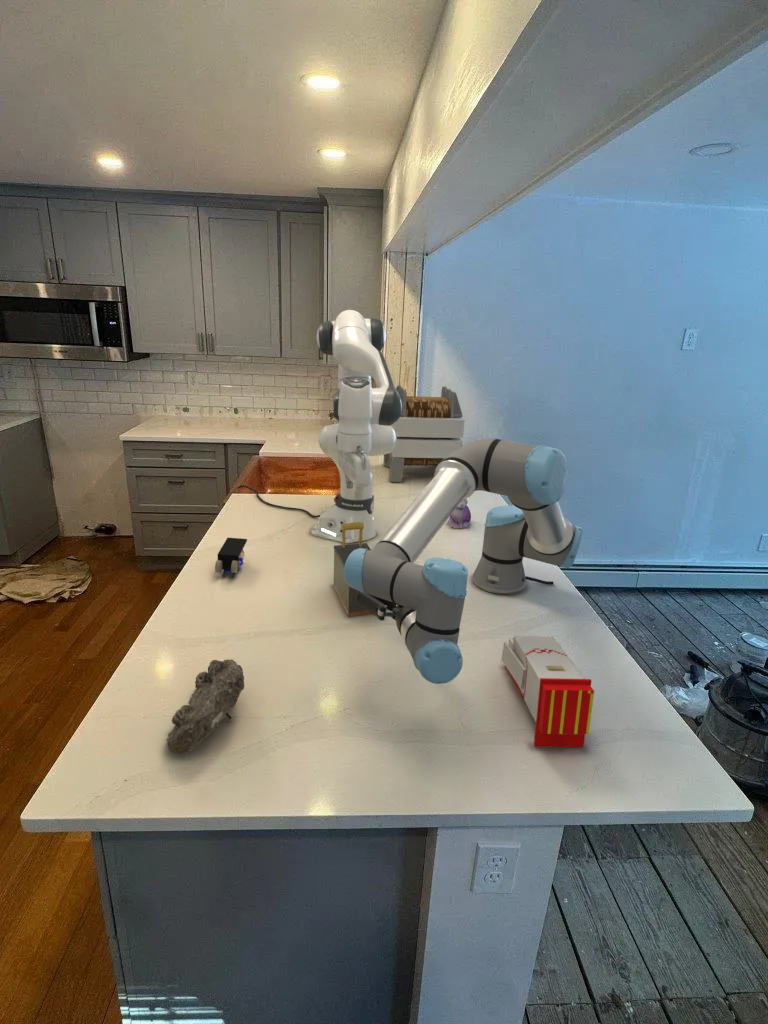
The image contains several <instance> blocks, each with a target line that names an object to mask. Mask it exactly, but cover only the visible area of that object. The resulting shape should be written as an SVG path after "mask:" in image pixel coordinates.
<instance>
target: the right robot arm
mask: <svg viewBox="0 0 768 1024" xmlns="http://www.w3.org/2000/svg"><path fill="white" fill-rule="evenodd" d="M567 470H568V463H567V458H566V456H565V454H564V452H562V451H561V450H560V449H559V448H554V447H550V446H548V445H542V444H541V445H537V444H531V443H524V442H519V441H514V440H513V441H512V440H507V439H500V438H496V437H484V438H478V439H475V440H472V441H469V442H467V443H464V444H462V446H461V447H459V448H457V449H456V450H454V451H453V452H451V453H450V454H448V455H447V456H446V457H445V458H444V459H443V460H442V461H441V462H440V463H439V464H438V466H435V469H434V473H433V478H431V480H430V481H429V482H428V484H427V485H426V486H425V487H424V488H423V489H422V491H421V492H420V493H419V494H418V495H417V496H416V498H414V500H413V501H412V503H410V505H409V506H408V507H407V508H406V509H405V510H404V512H403V513H402V514H401V515H400V517H399V518H398V519H397V520H396V521H395V523H393V524H392V526H391V527H390V528H389V529H388V530H387V532H386V533H385V534H384V535H383V536H382V537H381V539H380V540H379V541H378V542H377V543H376V544H375V546H374V547H373V548H372V549H371V550H369V549H367V548H366V549H363V548H358V549H356V550H354V551H352V552H351V554H350V555H349V556H348V558H347V560H346V563H345V567H344V577H345V581H346V583H347V585H348V586H350V587H351V588H354V589H356V590H358V593H357V599H356V602H357V603H358V604H360V605H361V606H363V607H364V608H366V609H367V610H369V611H370V612H372V613H373V614H372V615H374V616H376V618H377V619H378V620H379V621H385V618H387V617H388V618H391V619H392V620H393V621H395V624H396V628H397V631H398V632H399V634H400V636H401V638H402V641H403V642H404V644H405V647H406V648H407V650H408V652H409V654H410V657H411V659H412V661H413V665H414V667H415V669H416V670H417V671H418V672H419V674H420V676H421V677H422V678H423V679H425V680H426V681H427V682H429V683H431V684H435V685H442V684H443V685H444V684H447V683H449V682H451V681H453V680H454V679H455V678H456V677H458V675H459V674H460V673H461V671H462V668H463V664H464V663H463V662H464V661H463V660H464V659H463V655H462V653H461V649H460V647H459V645H458V641H459V637H460V631H461V629H460V626H461V622H462V617H463V611H464V606H465V601H466V596H467V592H468V591H467V587H468V586H467V585H468V577H469V572H468V568H467V566H466V565H465V564H463V563H461V562H460V561H457V560H455V559H450V558H444V557H430V558H427V559H426V560H425V561H424V564H423V565H422V564H417V563H415V562H416V561H417V560H418V558H419V557H420V556H421V554H422V553H423V551H424V550H425V549H426V548H427V546H428V545H429V544H430V543H431V541H432V540H433V538H434V537H435V536H436V535H437V533H438V532H439V531H440V529H441V528H442V527H443V526H444V525H445V523H446V522H447V520H449V518H450V515H451V513H452V512H453V511H454V510H455V508H456V507H457V506H458V504H459V503H460V502H461V500H462V499H465V498H467V499H468V498H470V497H471V496H473V494H475V492H477V491H479V492H480V491H481V492H488V493H492V494H495V495H501V496H504V497H507V498H508V500H509V501H510V503H511V504H512V505H500V506H495V507H493V508H490V509H489V510H488V512H487V513H486V516H485V517H486V518H485V523H484V531H483V542H482V549H481V550H482V551H481V556H480V558H479V561H478V563H477V565H476V567H475V569H474V571H473V575H472V582H473V584H474V585H475V586H476V587H478V588H479V589H480V590H483V591H484V592H488V593H492V594H496V595H507V596H508V595H515V594H519V593H521V592H523V591H524V590H525V589H526V585H527V581H532V582H535V583H539V584H542V585H548V586H549V585H551V586H552V585H554V583H555V582H554V581H551V580H550V581H547V580H542V579H539V578H535V577H531V576H527V575H526V573H525V568H524V567H525V566H524V563H523V560H524V558H526V559H529V560H533V561H538V562H540V563H545V564H548V565H552V566H556V567H558V568H565V569H570V568H571V567H573V566H574V563H575V560H576V557H577V554H578V551H579V548H580V544H581V541H582V538H583V537H582V536H583V528H582V527H580V526H578V525H576V524H573V525H572V523H571V522H570V520H569V519H568V518H566V517H565V516H564V515H563V512H562V510H561V506H560V503H559V501H560V499H561V498H562V497H563V494H564V493H565V490H566V485H567V480H568V472H567Z"/></svg>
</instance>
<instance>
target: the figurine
mask: <svg viewBox="0 0 768 1024" xmlns="http://www.w3.org/2000/svg"><path fill="white" fill-rule="evenodd" d="M468 503H469V502H468V498H465V499H462V500H461V502H460V503H459V504H458V506H457V507H456V508H455V510H454V511H453V512H452V513H451V515H450V516H449V517H448V524H449V526H450V527H451V528H454V529H462V528H467V527H469V526H470V523H471V519H472V513H471V510H470V508H469V507H468Z"/></svg>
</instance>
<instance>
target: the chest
mask: <svg viewBox="0 0 768 1024" xmlns="http://www.w3.org/2000/svg"><path fill="white" fill-rule="evenodd" d="M333 588H334V590H335V592H336V595H337V596H338V599H339V600H340V602H341V605H342V606H343V609H344V611H345V613H346V615H347V617H355V616H365V615H374V614H373V613H372V612H370V611H369V610H367V609H366V608H364V607H363V606H361V605H360V604H358V603H357V602H356V599H357V593H358V590H356V589H354V588H351V587H350V586H348V585H347V583H346V581H345V577H344V567H343V565H342V563H341V561H340V559H339V557H338V556H337V554H336V552H335V550H334V549H333Z"/></svg>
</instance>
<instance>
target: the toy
mask: <svg viewBox="0 0 768 1024" xmlns="http://www.w3.org/2000/svg"><path fill="white" fill-rule="evenodd" d="M501 662H502V663H503V664H504V667H505V670H506V671H507V673H508V675H509V676H510V679H511V680H512V681H513V683H514V685H515V686H516V688H517V690H518V691H519V693H520V696H521V697H522V698H523V699H524V703H525V704H526V706H527V708H528V710H529V713H530V714H531V716H532V718H533V720H534V722H535V729H534V740H533V746H534V747H538V748H539V747H540V748H541V747H544V748H545V747H546V748H547V747H548V748H584V746H585V739H586V735H590V730H591V721H592V720H591V719H592V714H593V713H592V711H593V704H594V694H595V690H594V689H593V687H592V679H591V678H585V676H584V675H583V674H582V673H581V672H580V670H579V669H578V668H577V666H576V665H575V663H574V662H573V661H572V660H571V658H570V657H569V656H568V654H567V653H566V652H565V650H564V649H563V648H562V646H561V645H560V643H559V641H557V640H556V639H555V637H554V636H538V635H537V636H535V635H533V636H532V635H529V636H528V635H524V636H523V635H513V637H508V642H507V641H504V642H503V647H502V654H501Z"/></svg>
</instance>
